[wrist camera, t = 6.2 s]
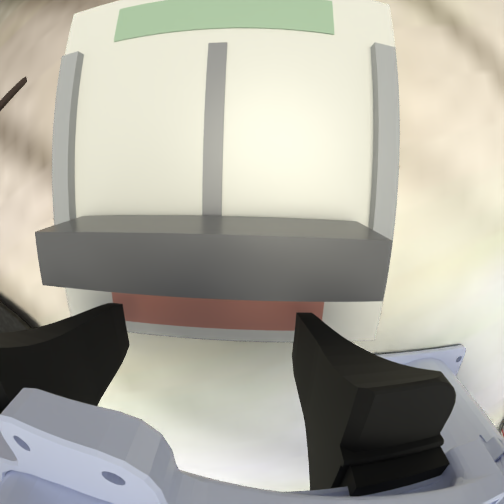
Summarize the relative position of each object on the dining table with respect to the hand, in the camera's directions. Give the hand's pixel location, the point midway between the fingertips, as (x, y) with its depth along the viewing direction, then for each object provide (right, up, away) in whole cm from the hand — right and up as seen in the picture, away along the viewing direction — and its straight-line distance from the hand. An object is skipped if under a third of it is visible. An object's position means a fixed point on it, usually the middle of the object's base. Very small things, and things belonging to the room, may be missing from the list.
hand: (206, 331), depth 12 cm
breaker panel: (0, +8, +2) cm, 8 cm away
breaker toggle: (0, +4, +1) cm, 4 cm away
